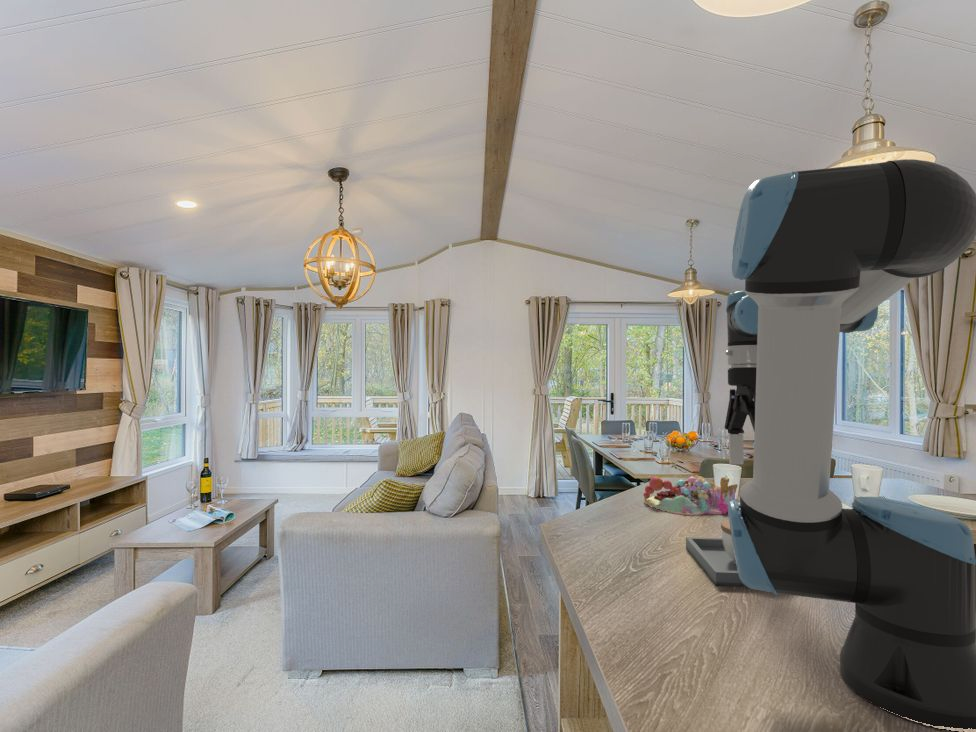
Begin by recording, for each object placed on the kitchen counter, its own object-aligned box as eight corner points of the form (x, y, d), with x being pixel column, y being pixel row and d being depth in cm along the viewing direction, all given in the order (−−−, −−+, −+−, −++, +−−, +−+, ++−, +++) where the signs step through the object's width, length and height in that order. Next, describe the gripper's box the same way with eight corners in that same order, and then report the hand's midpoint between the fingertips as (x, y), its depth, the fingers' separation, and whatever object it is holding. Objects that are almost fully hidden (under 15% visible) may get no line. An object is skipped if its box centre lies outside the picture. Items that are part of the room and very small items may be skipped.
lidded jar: (788, 576, 97) (788, 527, 98) (728, 572, 100) (728, 524, 100) (769, 556, 108) (768, 512, 108) (715, 552, 110) (715, 509, 110)
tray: (829, 589, 93) (829, 576, 93) (715, 585, 95) (715, 572, 95) (778, 550, 113) (778, 539, 113) (685, 548, 115) (685, 537, 115)
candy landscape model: (678, 492, 168) (678, 464, 168) (751, 507, 149) (751, 475, 150) (633, 505, 153) (632, 474, 153) (707, 523, 134) (707, 488, 134)
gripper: (709, 367, 117) (710, 459, 117) (753, 365, 92) (755, 482, 92) (743, 367, 116) (744, 459, 116) (797, 365, 91) (799, 483, 91)
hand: (749, 470), depth 104 cm, fingers open, 13 cm apart
